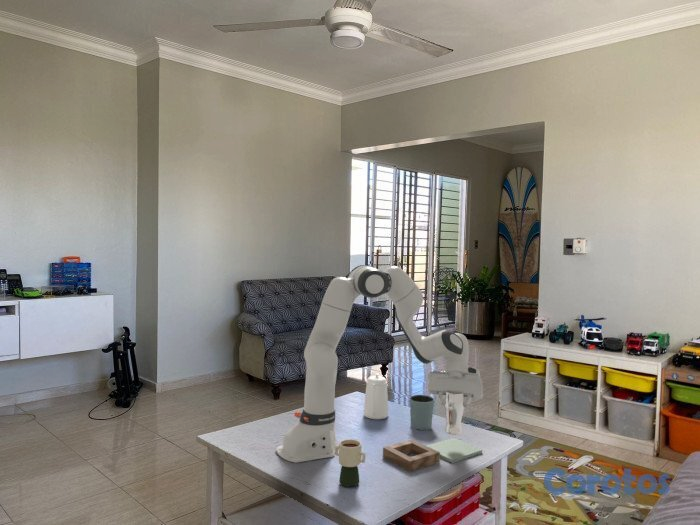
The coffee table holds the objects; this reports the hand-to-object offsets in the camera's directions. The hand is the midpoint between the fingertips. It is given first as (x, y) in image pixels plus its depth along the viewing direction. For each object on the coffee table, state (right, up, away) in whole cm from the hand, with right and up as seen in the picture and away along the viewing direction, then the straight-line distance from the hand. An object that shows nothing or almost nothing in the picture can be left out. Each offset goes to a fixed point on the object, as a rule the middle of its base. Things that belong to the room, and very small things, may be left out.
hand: (454, 405), depth 191 cm
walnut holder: (-17, -17, -7) cm, 25 cm away
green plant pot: (-9, -16, +26) cm, 32 cm away
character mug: (-38, -18, -26) cm, 50 cm away
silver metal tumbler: (0, -10, +1) cm, 10 cm away
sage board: (0, -17, +1) cm, 17 cm away
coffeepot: (-27, -15, +38) cm, 49 cm away
